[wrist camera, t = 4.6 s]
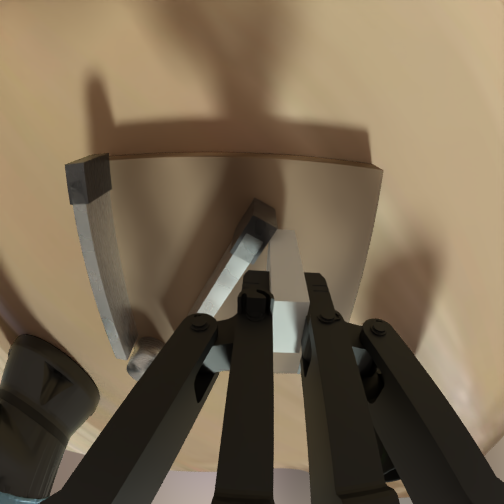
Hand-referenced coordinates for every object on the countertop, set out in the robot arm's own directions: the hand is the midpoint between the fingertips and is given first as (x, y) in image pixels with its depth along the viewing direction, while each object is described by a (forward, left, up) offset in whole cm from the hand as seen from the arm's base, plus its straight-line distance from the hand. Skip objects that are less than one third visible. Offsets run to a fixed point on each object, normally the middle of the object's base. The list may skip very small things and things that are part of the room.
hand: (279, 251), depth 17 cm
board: (-3, -4, -4) cm, 6 cm away
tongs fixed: (-10, -4, -2) cm, 11 cm away
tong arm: (-4, -3, -1) cm, 5 cm away
